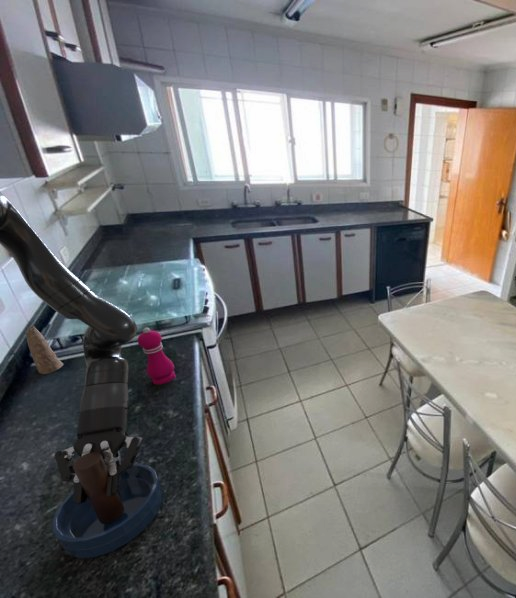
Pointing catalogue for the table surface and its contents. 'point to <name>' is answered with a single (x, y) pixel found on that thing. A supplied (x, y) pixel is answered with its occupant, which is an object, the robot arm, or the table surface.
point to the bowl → (108, 537)
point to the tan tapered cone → (42, 352)
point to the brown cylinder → (98, 487)
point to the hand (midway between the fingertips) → (96, 499)
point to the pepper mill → (156, 357)
